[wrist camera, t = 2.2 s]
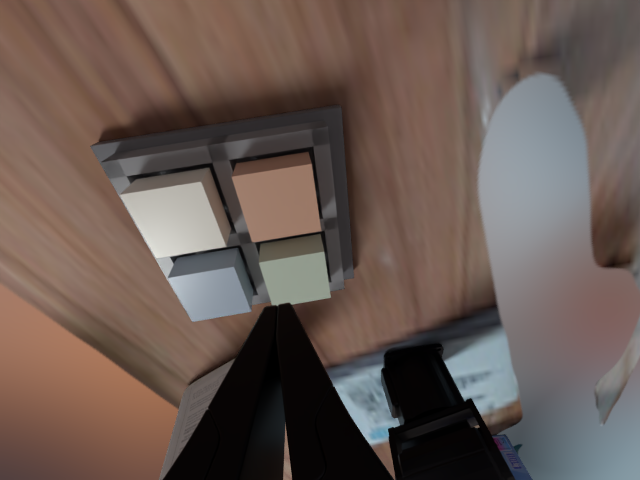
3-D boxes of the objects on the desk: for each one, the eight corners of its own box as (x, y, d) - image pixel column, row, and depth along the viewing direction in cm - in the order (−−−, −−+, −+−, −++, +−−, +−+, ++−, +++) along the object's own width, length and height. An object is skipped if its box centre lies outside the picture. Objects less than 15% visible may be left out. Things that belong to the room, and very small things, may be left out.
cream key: (209, 167, 16) (201, 181, 14) (231, 228, 18) (226, 246, 16) (136, 179, 16) (119, 194, 14) (167, 239, 18) (156, 258, 16)
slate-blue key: (237, 247, 19) (233, 266, 17) (253, 290, 21) (251, 311, 19) (177, 257, 19) (167, 278, 17) (199, 300, 21) (192, 321, 19)
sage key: (320, 233, 19) (324, 251, 17) (326, 278, 21) (330, 297, 20) (260, 243, 19) (258, 262, 17) (273, 287, 21) (273, 307, 19)
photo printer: (209, 401, 33) (178, 562, 22) (178, 387, 30) (127, 558, 20) (279, 362, 30) (278, 523, 20) (250, 344, 28) (233, 515, 18)
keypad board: (338, 104, 17) (346, 112, 15) (351, 271, 24) (358, 291, 22) (97, 142, 16) (72, 155, 14) (185, 300, 24) (177, 323, 22)
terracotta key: (308, 151, 16) (311, 163, 14) (317, 214, 18) (321, 230, 16) (236, 163, 16) (231, 176, 14) (254, 224, 18) (252, 242, 16)
